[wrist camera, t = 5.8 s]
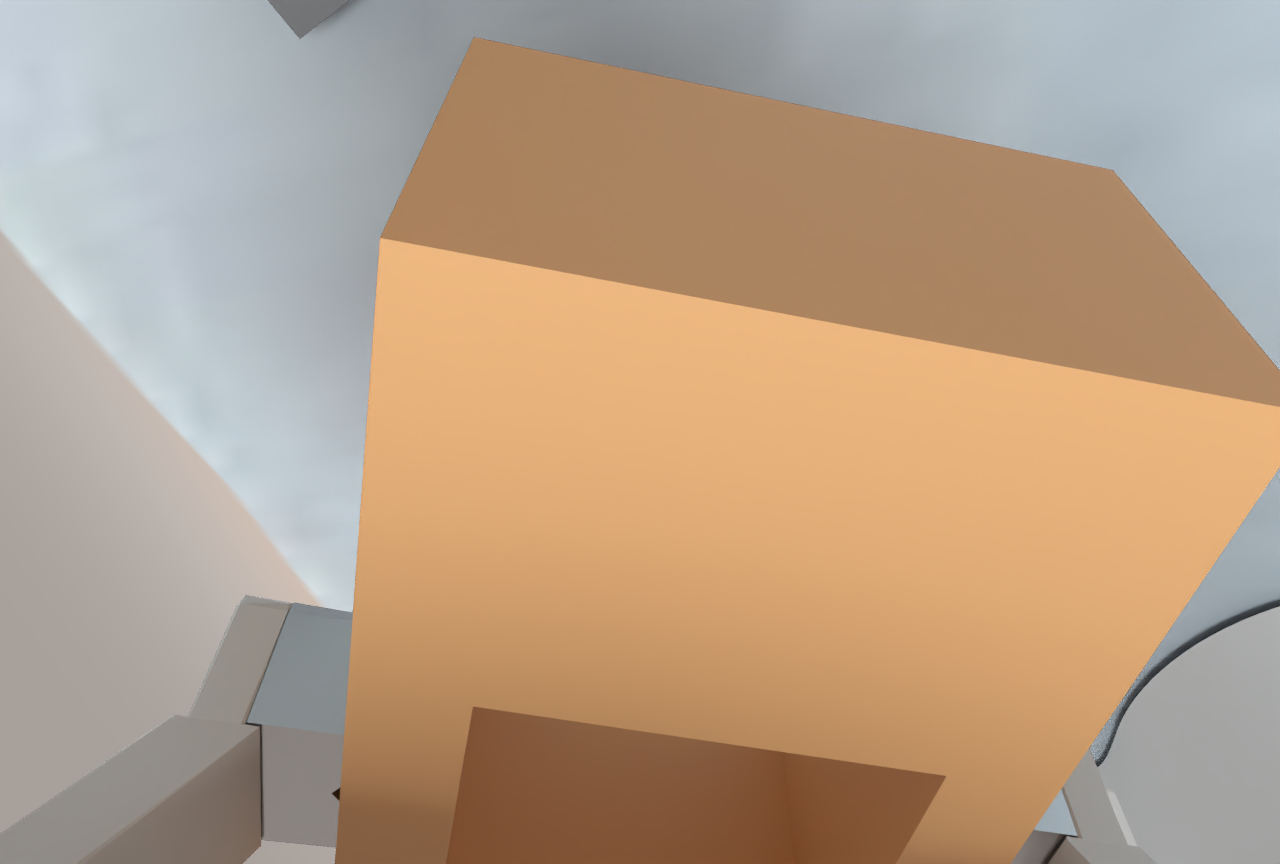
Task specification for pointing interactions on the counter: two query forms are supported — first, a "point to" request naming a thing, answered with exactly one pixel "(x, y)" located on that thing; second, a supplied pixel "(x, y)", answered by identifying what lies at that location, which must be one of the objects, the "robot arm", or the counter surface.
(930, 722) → the orange block with recesses
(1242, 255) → the counter surface
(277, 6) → the base plate
